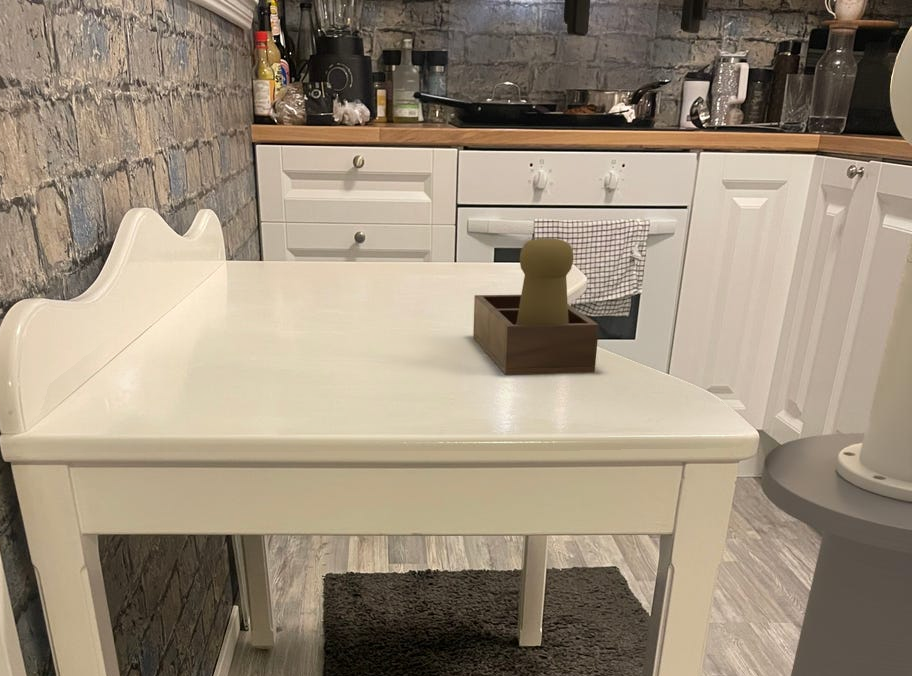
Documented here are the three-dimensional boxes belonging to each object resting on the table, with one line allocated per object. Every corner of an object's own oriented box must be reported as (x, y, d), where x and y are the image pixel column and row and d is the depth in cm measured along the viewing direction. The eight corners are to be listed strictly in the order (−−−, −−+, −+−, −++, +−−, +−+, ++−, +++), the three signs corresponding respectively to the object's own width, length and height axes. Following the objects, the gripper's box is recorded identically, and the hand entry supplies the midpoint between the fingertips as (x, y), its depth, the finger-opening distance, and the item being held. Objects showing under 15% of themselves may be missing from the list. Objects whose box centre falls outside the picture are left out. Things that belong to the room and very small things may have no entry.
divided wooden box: (594, 372, 94) (599, 324, 92) (505, 374, 93) (507, 326, 91) (550, 335, 109) (553, 293, 107) (473, 337, 108) (474, 295, 106)
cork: (503, 358, 96) (508, 240, 90) (520, 346, 101) (526, 234, 95) (561, 364, 94) (570, 244, 88) (576, 351, 99) (585, 237, 93)
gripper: (788, -243, 70) (748, 34, 78) (567, -212, 77) (552, 38, 85) (766, -275, 64) (725, 28, 72) (530, -238, 71) (517, 33, 79)
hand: (632, 33), depth 79 cm, fingers open, 9 cm apart
